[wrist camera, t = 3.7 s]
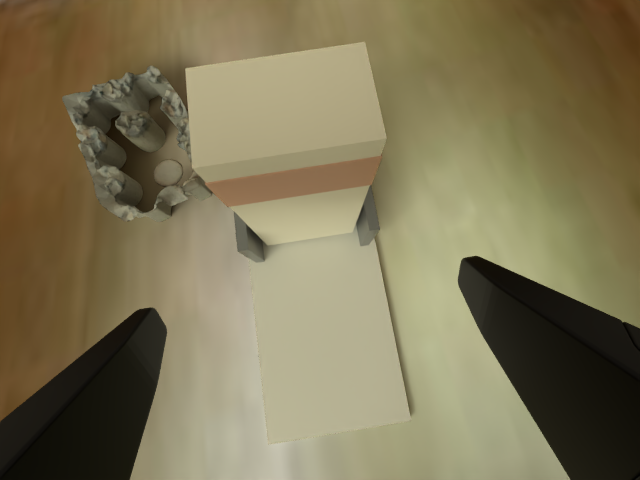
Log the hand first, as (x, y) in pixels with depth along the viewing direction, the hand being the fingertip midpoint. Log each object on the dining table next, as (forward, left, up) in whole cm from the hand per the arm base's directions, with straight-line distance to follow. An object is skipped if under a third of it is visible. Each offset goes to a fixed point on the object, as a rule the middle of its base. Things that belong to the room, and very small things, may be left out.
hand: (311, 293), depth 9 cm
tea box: (+4, -4, -12) cm, 14 cm away
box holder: (0, 0, -12) cm, 12 cm away
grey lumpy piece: (+17, -1, -13) cm, 21 cm away
